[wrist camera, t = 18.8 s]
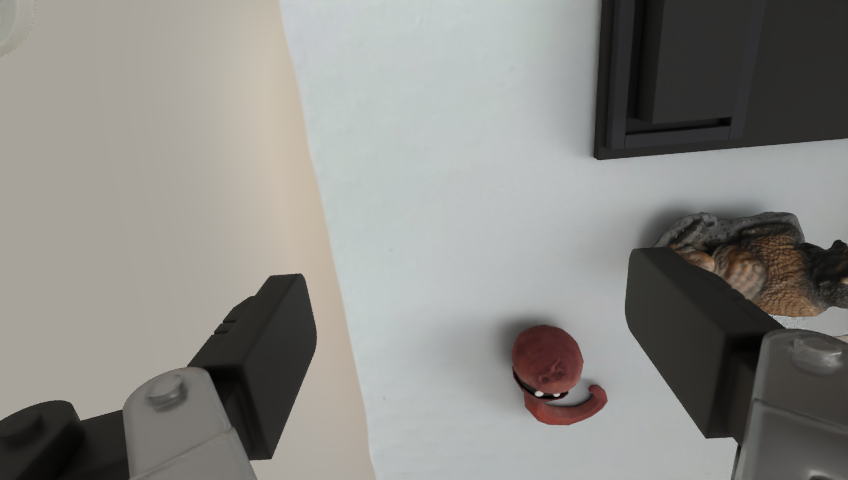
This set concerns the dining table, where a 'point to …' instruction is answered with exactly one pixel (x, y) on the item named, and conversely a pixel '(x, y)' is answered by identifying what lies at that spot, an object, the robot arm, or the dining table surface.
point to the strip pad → (690, 59)
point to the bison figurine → (765, 261)
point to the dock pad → (758, 88)
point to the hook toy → (551, 375)
